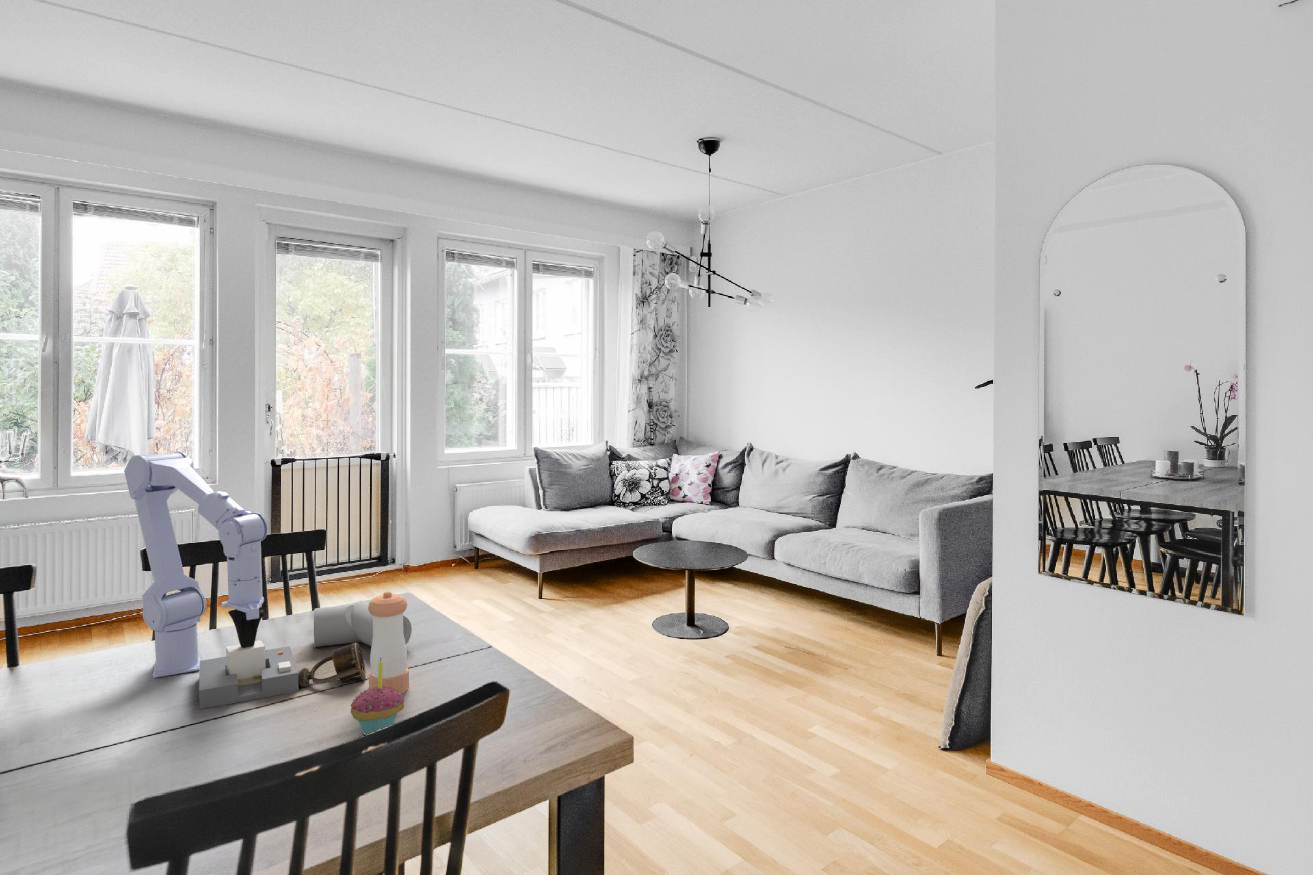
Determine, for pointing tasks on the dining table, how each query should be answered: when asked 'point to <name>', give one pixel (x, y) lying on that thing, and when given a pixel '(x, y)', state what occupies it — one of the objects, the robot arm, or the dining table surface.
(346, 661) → the bronze loop with drum
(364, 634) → the bent grey cylinder
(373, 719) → the cupcake
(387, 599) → the pepper shaker
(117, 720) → the dining table surface
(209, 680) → the socket board
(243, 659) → the plug
